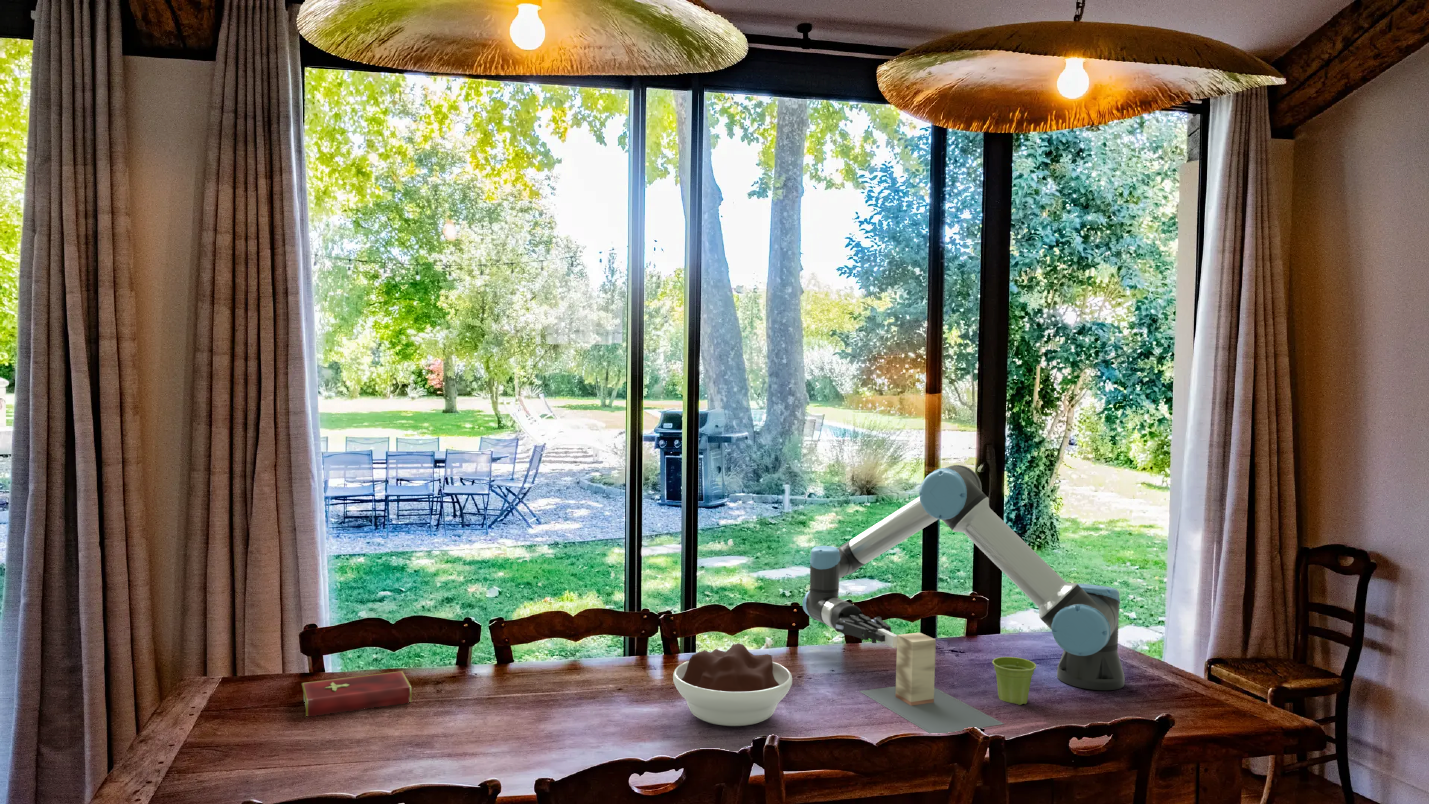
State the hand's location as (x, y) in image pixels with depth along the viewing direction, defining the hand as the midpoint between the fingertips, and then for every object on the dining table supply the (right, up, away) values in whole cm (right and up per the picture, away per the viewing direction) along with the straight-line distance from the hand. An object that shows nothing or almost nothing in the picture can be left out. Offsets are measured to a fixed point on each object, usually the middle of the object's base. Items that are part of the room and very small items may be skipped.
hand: (895, 642), depth 223 cm
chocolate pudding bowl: (-38, -12, -18) cm, 44 cm away
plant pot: (+25, -12, -4) cm, 29 cm away
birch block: (+3, -11, -7) cm, 13 cm away
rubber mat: (+5, -12, -11) cm, 17 cm away
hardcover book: (-119, -10, -13) cm, 120 cm away
